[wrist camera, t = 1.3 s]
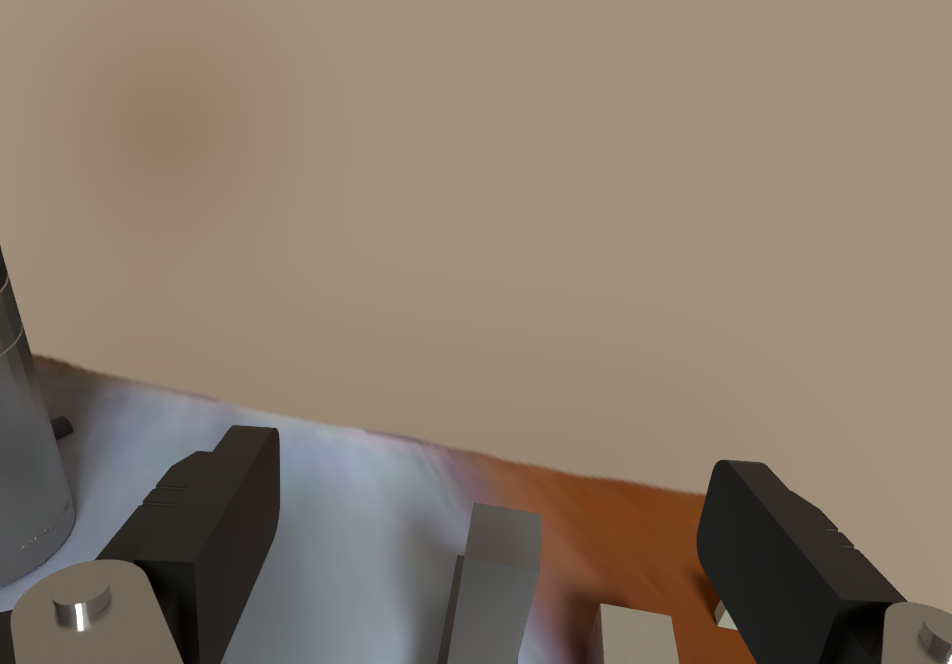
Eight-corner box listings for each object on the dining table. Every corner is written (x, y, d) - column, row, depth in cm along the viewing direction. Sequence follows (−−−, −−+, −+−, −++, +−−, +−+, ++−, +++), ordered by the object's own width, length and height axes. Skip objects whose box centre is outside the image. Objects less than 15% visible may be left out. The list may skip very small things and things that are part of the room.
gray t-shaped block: (399, 877, 26) (424, 693, 19) (451, 598, 38) (477, 423, 31) (491, 897, 26) (549, 718, 19) (513, 609, 38) (554, 436, 31)
